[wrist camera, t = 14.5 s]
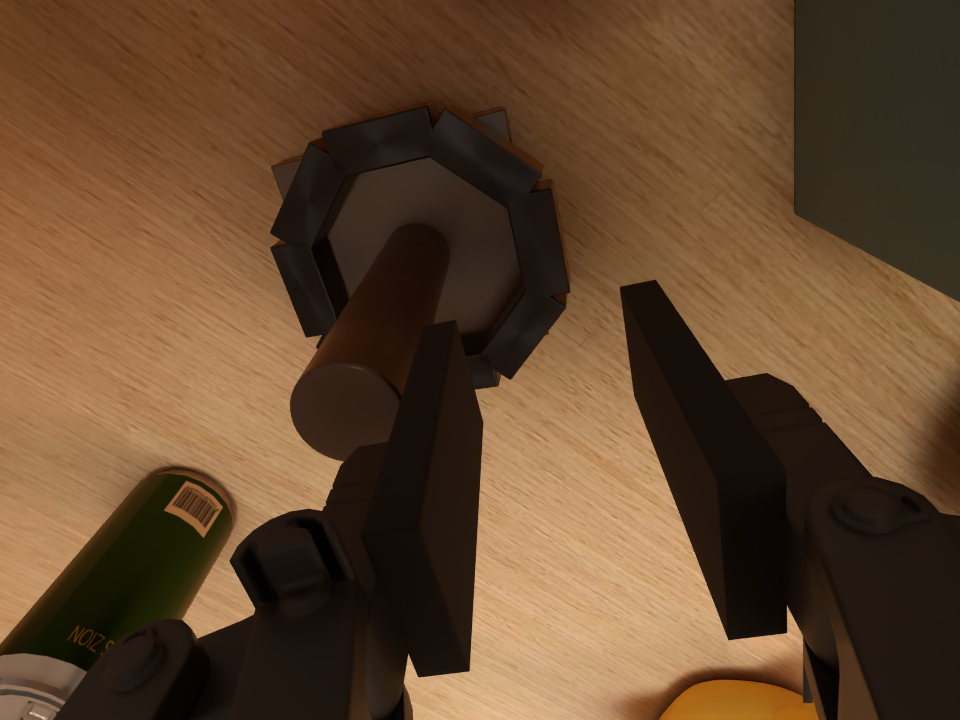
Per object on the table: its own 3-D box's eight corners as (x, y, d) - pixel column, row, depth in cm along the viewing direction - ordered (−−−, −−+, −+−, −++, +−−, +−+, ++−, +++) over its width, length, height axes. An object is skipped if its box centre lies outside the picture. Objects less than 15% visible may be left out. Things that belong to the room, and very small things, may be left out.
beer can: (159, 446, 30) (-27, 658, 20) (255, 497, 32) (129, 722, 21) (122, 512, 33) (-66, 736, 22) (213, 558, 34) (78, 791, 23)
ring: (253, 147, 22) (231, 154, 21) (534, 75, 20) (531, 77, 19) (346, 390, 27) (333, 409, 25) (584, 356, 24) (585, 375, 23)
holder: (283, 160, 24) (59, 265, 12) (504, 106, 23) (506, 161, 11) (354, 358, 28) (239, 589, 16) (546, 321, 27) (582, 538, 15)
